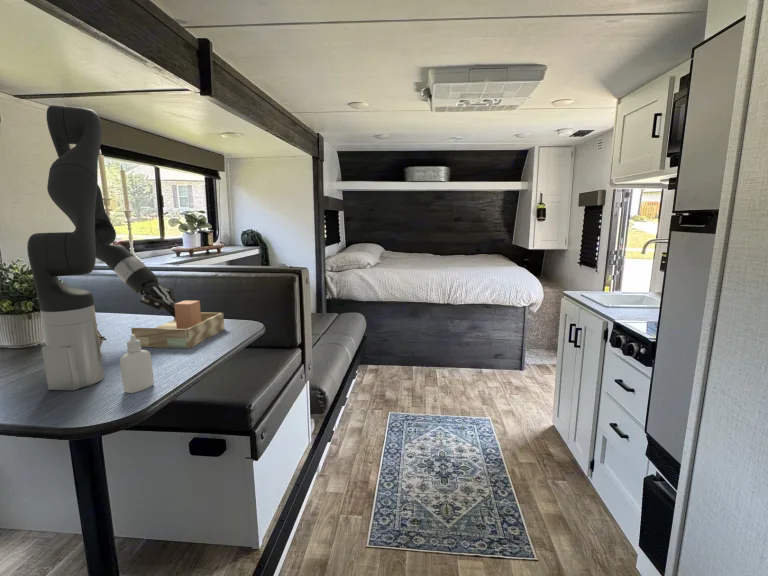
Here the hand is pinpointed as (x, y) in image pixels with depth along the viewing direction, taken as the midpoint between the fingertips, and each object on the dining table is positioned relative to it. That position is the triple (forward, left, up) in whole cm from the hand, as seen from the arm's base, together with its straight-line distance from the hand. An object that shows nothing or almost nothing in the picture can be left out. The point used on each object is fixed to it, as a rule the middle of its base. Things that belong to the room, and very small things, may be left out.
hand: (178, 315), depth 122 cm
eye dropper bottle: (-36, -14, -7) cm, 39 cm away
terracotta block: (0, -3, -4) cm, 5 cm away
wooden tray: (0, -1, -7) cm, 7 cm away
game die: (-17, +15, -7) cm, 24 cm away
